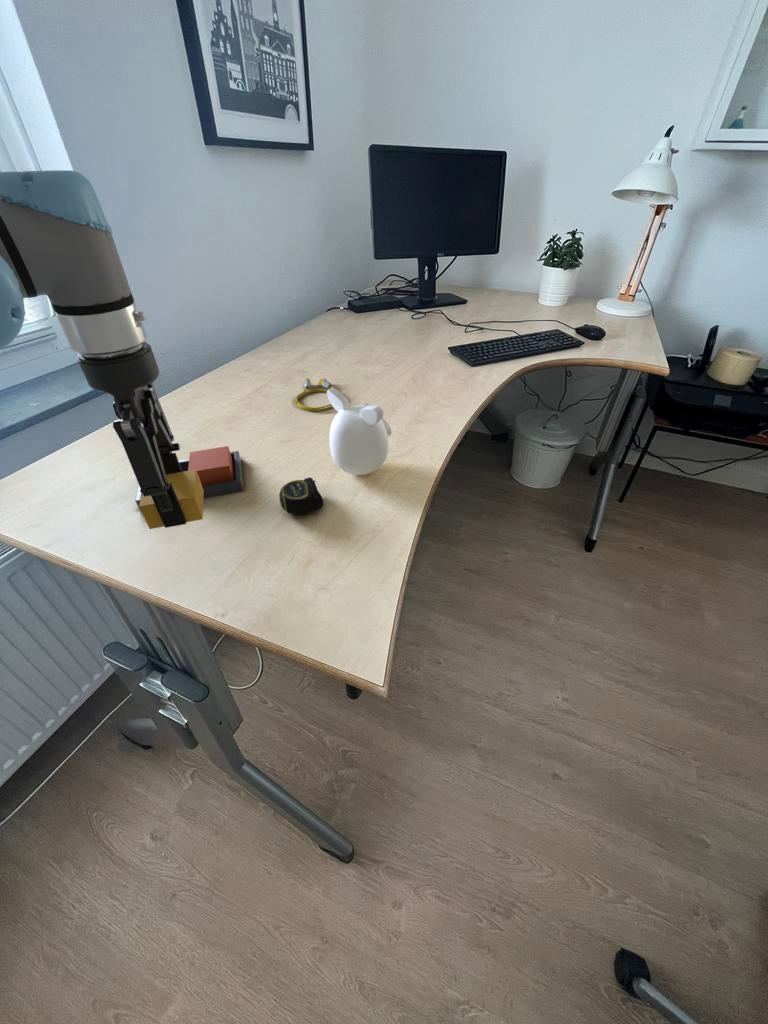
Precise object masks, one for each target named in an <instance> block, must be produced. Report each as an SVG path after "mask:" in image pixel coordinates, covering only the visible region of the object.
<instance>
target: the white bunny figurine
mask: <svg viewBox="0 0 768 1024" xmlns="http://www.w3.org/2000/svg"><path fill="white" fill-rule="evenodd" d="M327 390H328V391H327V392H326V396H327V398H328V401H329V404H331V406H333V409H334V410H335V411H336V412H337V413H336V414H335V416H334V418H333V420H332V422H331V424H330V429H329V450H330V455H331V458H332V460H333V462H334V464H335V465H336V466H337V467H338V468H339V469H340V470H342V471H343V472H344V473H347V474H349V475H354V476H365V475H368V474H372V473H374V472H376V471H377V470H378V469H381V467H382V466H383V465H384V463H385V462H386V461H387V458H388V456H389V450H390V445H389V444H390V443H389V437H390V436H392V429H391V427H390V425H389V424H388V422H387V420H386V419H385V418H384V411H383V408H381V406H380V405H370V404H369V403H368V402H365V403H364V404H362V405H351V406H350V404H349V400H348V399H347V397H346V396H345V395H344V394H343V393H342V392H341V391H339V390H338V389H336V388H335V387H332V388H331V389H327Z"/></svg>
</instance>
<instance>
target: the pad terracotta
mask: <svg viewBox="0 0 768 1024" xmlns="http://www.w3.org/2000/svg"><path fill="white" fill-rule="evenodd" d="M230 452H231V450H230V448H229V445H225V446H220V447H213V448H208V449H201V450H194V451H190V452H189V455H188V456H189V457H188V459H189V466H188V471H190V470H197V473H198V476H199V479H200V482H201V485H202V486H208V485H213V484H219V483H224V482H230V481H234V466H233V460H232V457H231V454H230Z"/></svg>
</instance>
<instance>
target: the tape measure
mask: <svg viewBox="0 0 768 1024" xmlns="http://www.w3.org/2000/svg"><path fill="white" fill-rule="evenodd" d="M317 487H318V486H317V485H316V480H314V478H312V477H306V478H304V479H296V480H295V479H294V480H291V481H289V482H287V483H286V484H283V486H282V487H281V488H280V491H279V494H278V497H279V498H278V499H279V503H280V506H281V508H282V509H283V510H284V511H285V512H286V513H287V514H290V515H293V516H305V515H307V514H311V513H312V512H314V511H315V512H316V511H319V510H321V509H322V508H323V507H324V498H323V496H322V495H321V493H320V492H319V490H318V488H317Z"/></svg>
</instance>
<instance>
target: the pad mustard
mask: <svg viewBox="0 0 768 1024" xmlns="http://www.w3.org/2000/svg"><path fill="white" fill-rule="evenodd" d="M166 477H167V480H168V482H169V483H172V486H173V488H174V491H175V493H176V496H177V498H178V501H179V504H180V506H181V509H182V511H183V514H184V516H185V519H186V523H190V522H195V521H200V520H203V517H204V498H203V495H204V490H203V487H202V485H201V482H200V479H199V476H198V473H197V470H190V471H184V472H178V473H172V474H166ZM139 508H140V509H139ZM138 509H139V511H141V514H142V516H143V518H144V520H145V523H146V524H147V526H148V528H149V530H153V529H157V528H162V527H165V526H164V524H163V522H162V519H161V517H160V515H159V513H158V510H157V508H156V506H155V504H154V501H153V499H152V497H151V496H146V497H144V496H143V494H142V496H141V500H140V505H139V507H138Z"/></svg>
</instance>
